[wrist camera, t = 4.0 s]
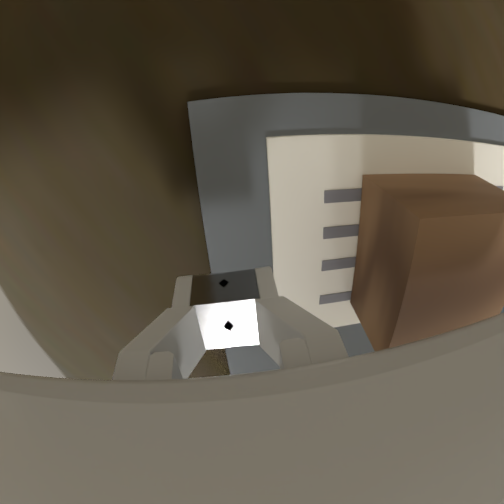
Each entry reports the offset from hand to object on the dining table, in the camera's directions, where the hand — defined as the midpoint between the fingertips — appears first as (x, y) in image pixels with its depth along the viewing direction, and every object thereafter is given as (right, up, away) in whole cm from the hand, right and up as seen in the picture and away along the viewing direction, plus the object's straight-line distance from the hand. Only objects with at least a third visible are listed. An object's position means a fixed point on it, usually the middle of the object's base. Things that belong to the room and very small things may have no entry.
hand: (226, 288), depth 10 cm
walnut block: (+8, +2, +2) cm, 9 cm away
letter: (+8, +2, +3) cm, 9 cm away
